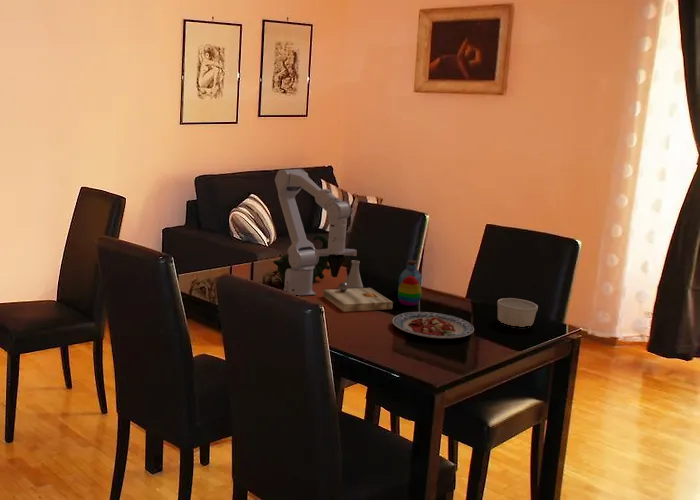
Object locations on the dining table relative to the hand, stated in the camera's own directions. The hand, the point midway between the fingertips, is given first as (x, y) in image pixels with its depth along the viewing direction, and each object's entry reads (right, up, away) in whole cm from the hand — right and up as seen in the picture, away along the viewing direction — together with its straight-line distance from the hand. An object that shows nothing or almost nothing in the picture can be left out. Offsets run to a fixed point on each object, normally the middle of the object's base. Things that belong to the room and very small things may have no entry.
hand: (334, 276), depth 273 cm
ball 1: (+3, -4, +8) cm, 9 cm away
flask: (+7, -5, +25) cm, 26 cm away
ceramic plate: (+31, -17, -19) cm, 40 cm away
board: (+8, -9, +5) cm, 13 cm away
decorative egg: (+26, -10, +9) cm, 29 cm away
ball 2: (+12, -8, +6) cm, 16 cm away
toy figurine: (-13, -3, +26) cm, 30 cm away
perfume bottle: (+27, -7, +23) cm, 36 cm away
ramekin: (+61, -16, -5) cm, 63 cm away
